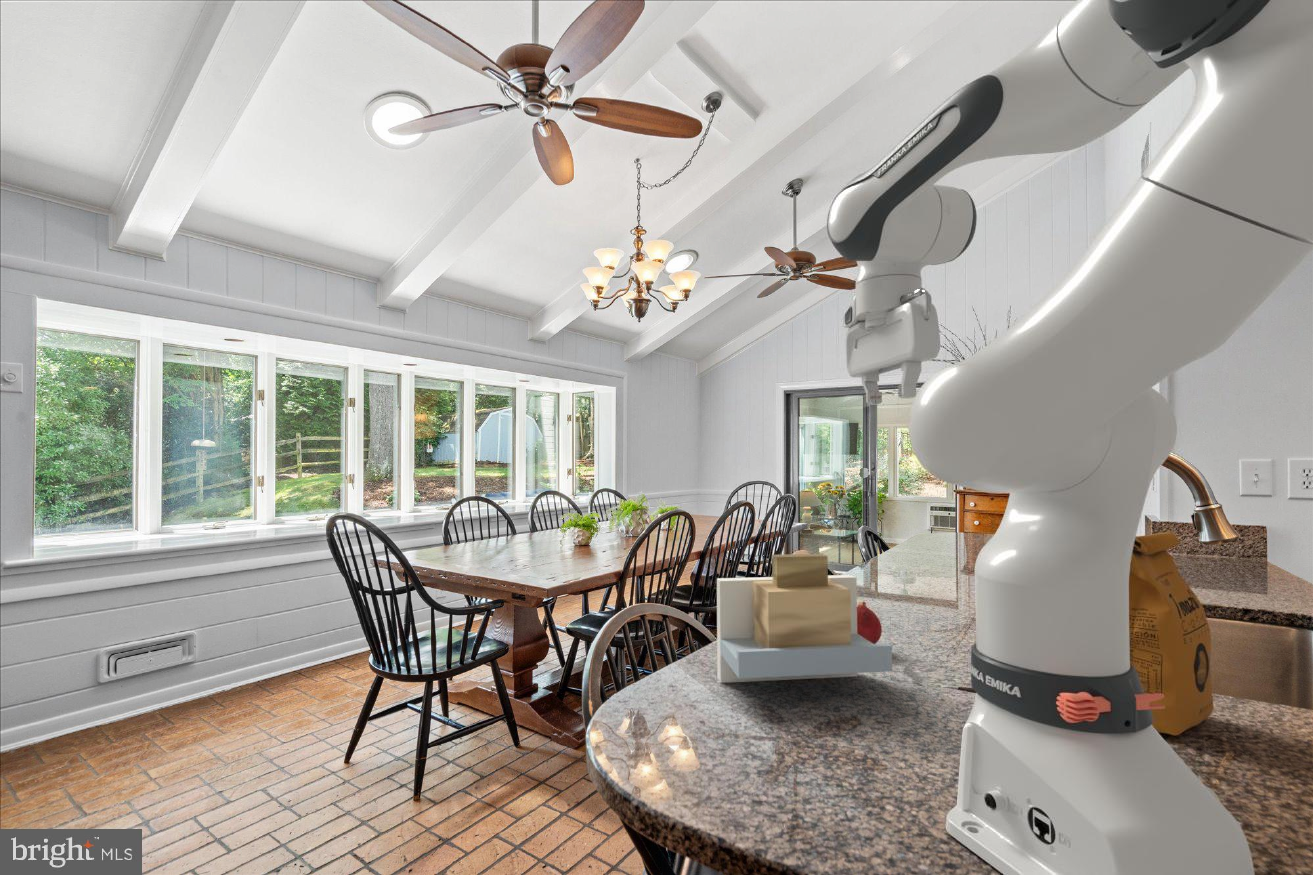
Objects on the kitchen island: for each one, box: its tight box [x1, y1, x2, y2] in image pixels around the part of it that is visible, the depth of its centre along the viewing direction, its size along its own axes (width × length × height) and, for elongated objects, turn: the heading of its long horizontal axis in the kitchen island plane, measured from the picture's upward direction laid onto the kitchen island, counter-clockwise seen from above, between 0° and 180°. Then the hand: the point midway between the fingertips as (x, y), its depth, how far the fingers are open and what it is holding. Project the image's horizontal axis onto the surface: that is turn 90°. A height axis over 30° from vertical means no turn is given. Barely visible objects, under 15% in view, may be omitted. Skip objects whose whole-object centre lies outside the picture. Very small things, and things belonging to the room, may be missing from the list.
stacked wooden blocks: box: [753, 553, 851, 649], centre depth 84 cm, size 7×11×12 cm, turn 97°
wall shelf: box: [716, 574, 893, 684], centre depth 84 cm, size 12×20×14 cm, turn 97°
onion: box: [857, 600, 883, 644], centre depth 101 cm, size 6×6×8 cm
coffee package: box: [1129, 531, 1214, 736], centre depth 74 cm, size 10×12×22 cm
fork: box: [902, 665, 976, 694], centre depth 84 cm, size 3×16×2 cm, turn 59°
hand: (889, 401), depth 88 cm, fingers open, 8 cm apart
